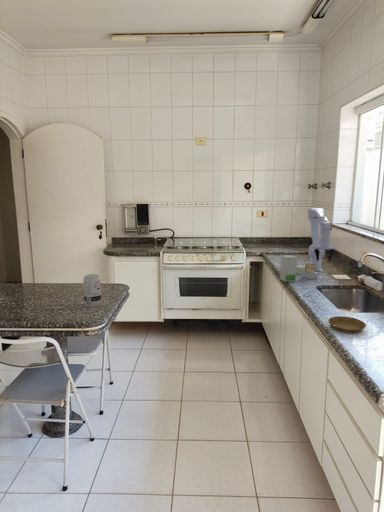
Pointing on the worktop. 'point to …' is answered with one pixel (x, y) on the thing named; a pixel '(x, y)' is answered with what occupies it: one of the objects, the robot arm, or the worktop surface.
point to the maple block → (309, 268)
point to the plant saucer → (347, 324)
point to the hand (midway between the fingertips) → (323, 260)
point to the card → (341, 277)
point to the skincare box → (288, 268)
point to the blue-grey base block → (310, 275)
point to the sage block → (300, 269)
